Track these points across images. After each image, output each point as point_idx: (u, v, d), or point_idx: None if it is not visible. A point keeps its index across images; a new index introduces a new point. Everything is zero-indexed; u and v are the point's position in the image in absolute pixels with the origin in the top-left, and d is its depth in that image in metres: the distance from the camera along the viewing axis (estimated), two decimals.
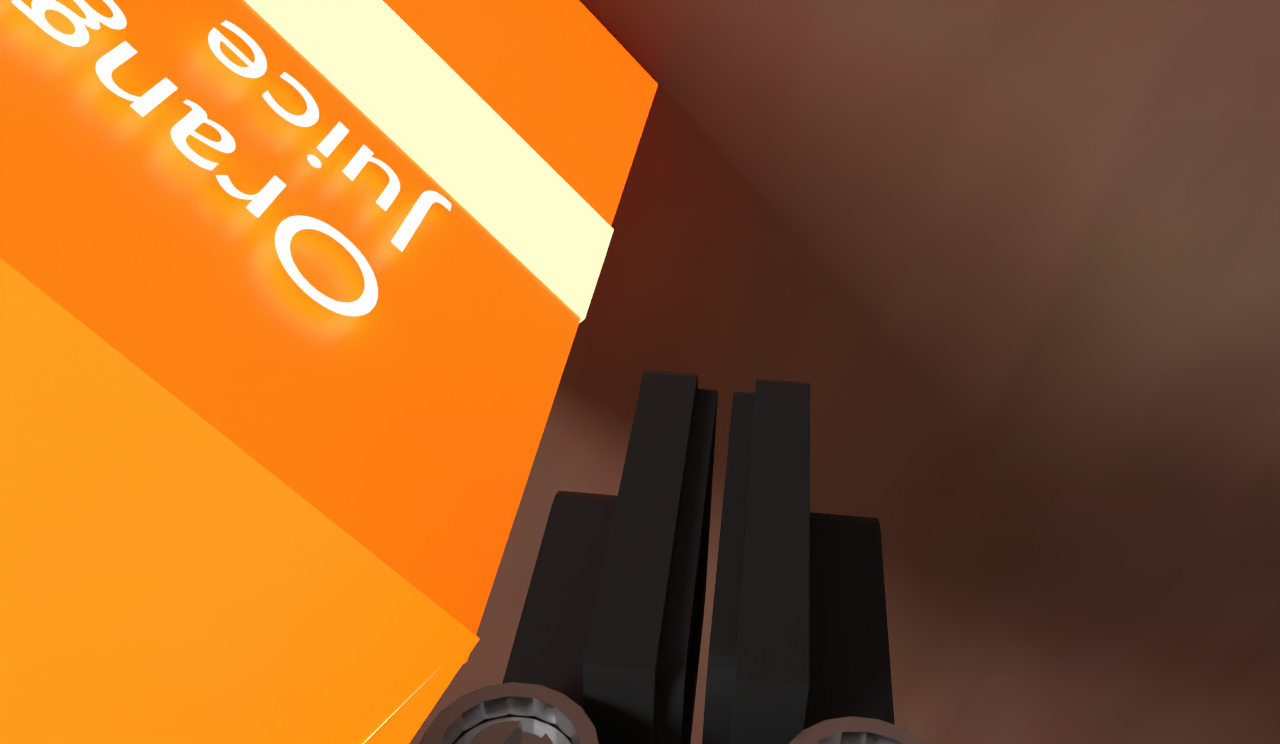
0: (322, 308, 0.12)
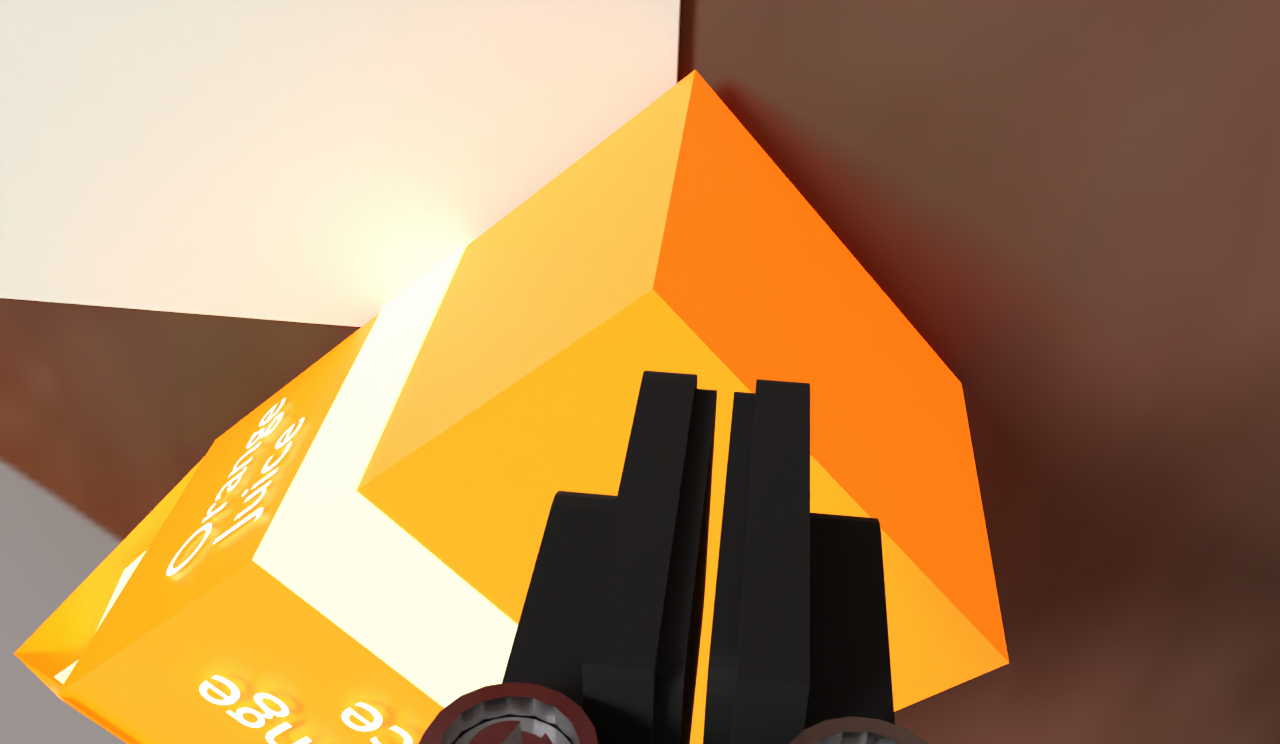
0: None
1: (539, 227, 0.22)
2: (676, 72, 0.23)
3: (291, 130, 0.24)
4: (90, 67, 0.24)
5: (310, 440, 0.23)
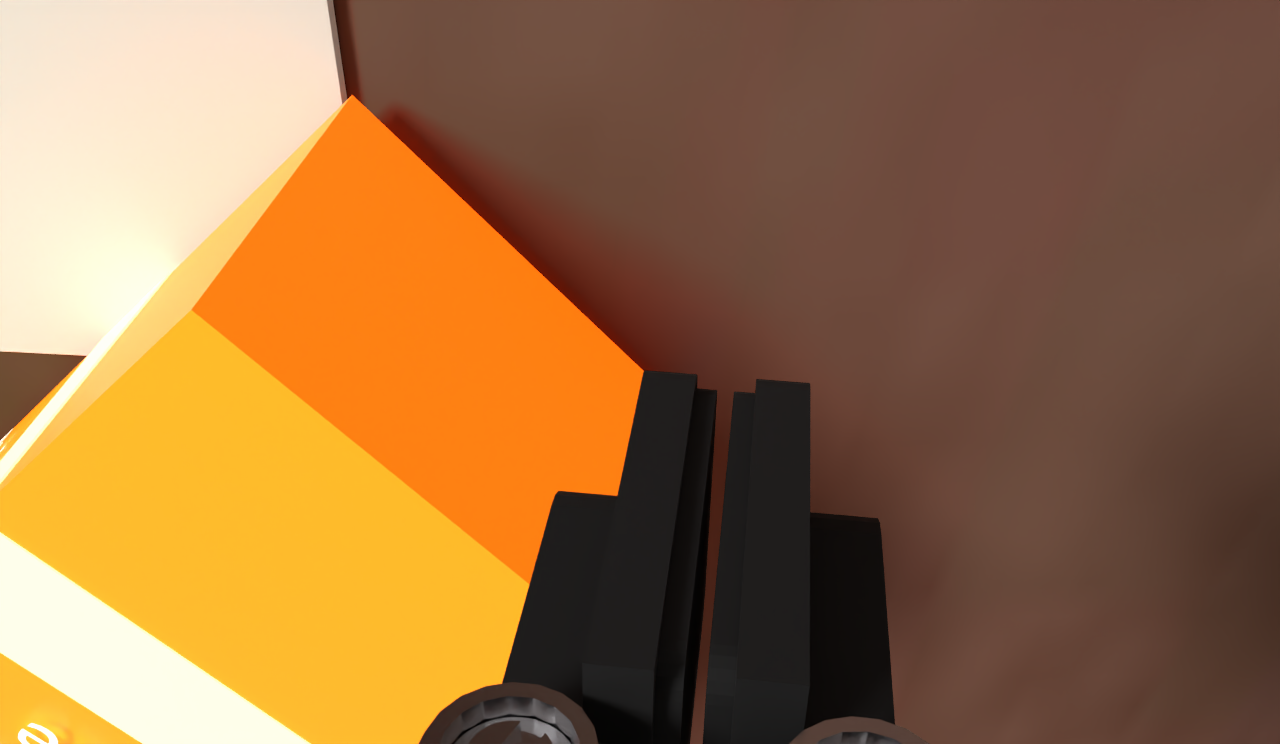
0: None
1: (202, 253, 0.22)
2: (341, 98, 0.23)
3: None
4: None
5: None
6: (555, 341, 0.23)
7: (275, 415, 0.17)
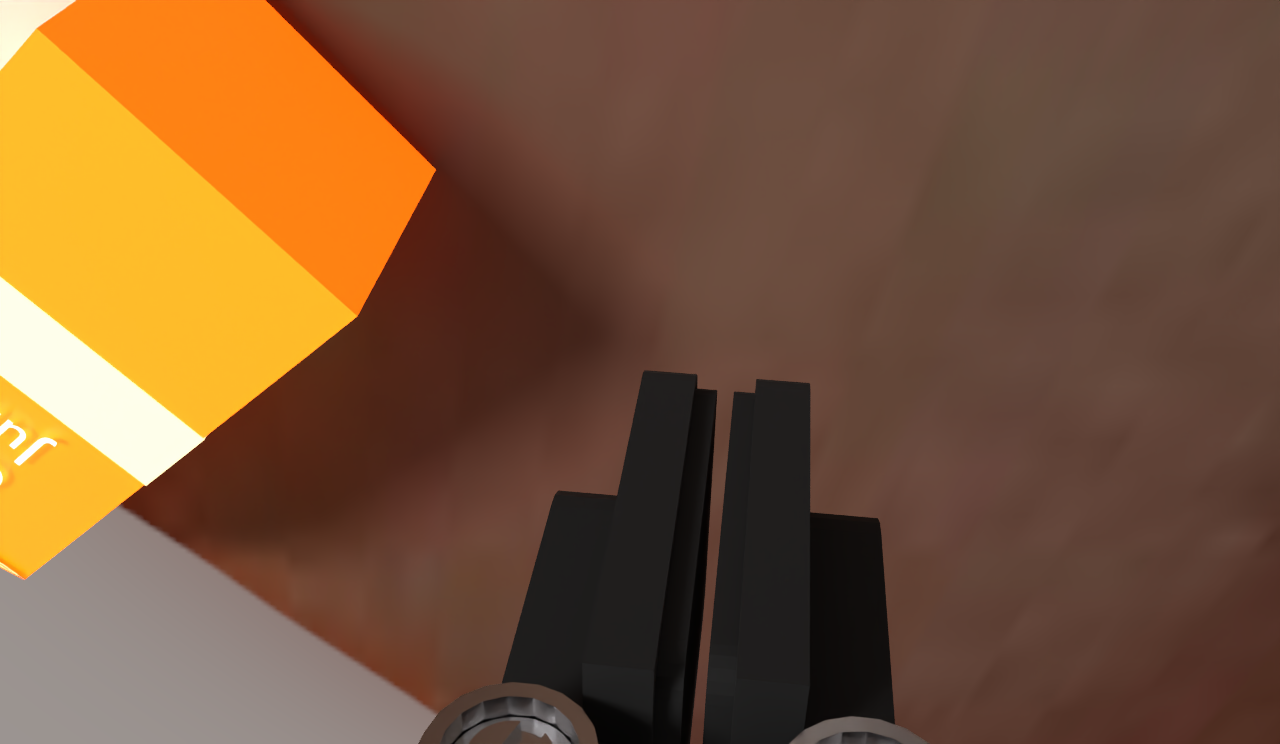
0: None
1: None
2: None
3: None
4: None
5: None
6: (338, 114, 0.32)
7: (97, 111, 0.26)
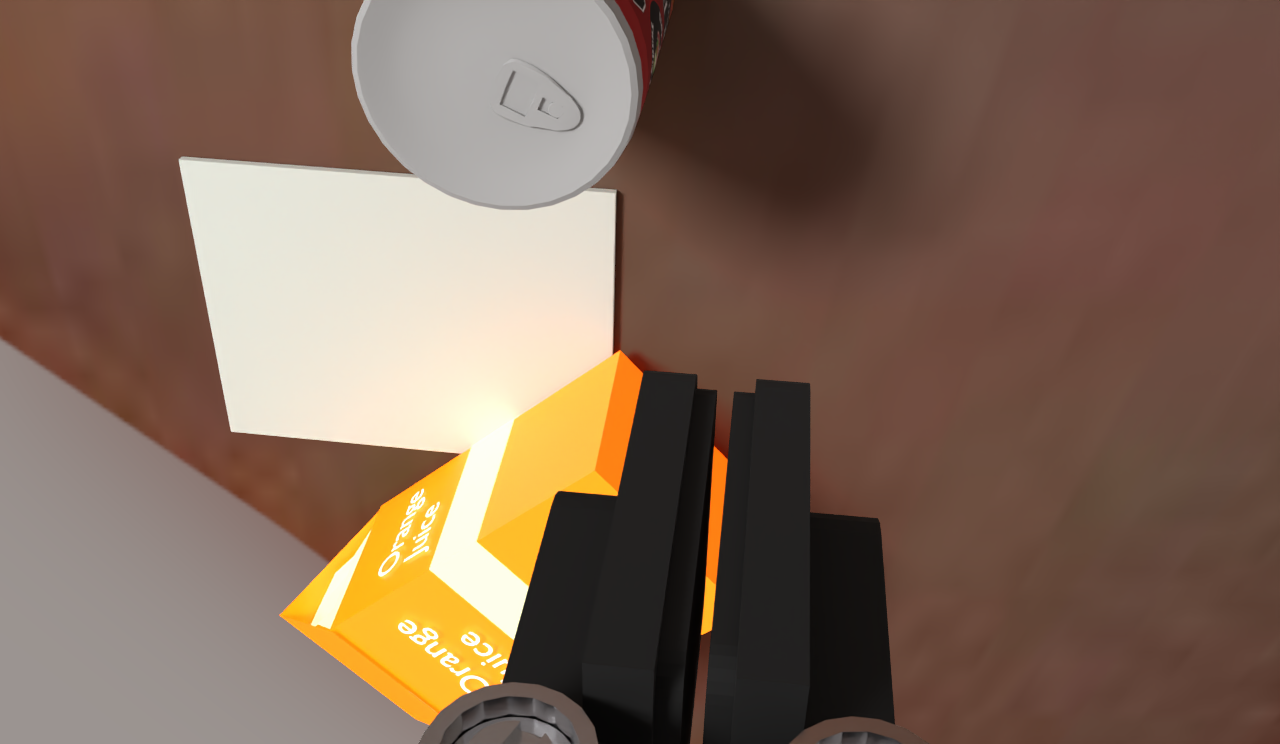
0: (473, 687, 0.51)
1: (550, 421, 0.49)
2: (612, 348, 0.50)
3: (433, 366, 0.51)
4: (339, 337, 0.51)
5: (444, 514, 0.50)
6: None
7: None
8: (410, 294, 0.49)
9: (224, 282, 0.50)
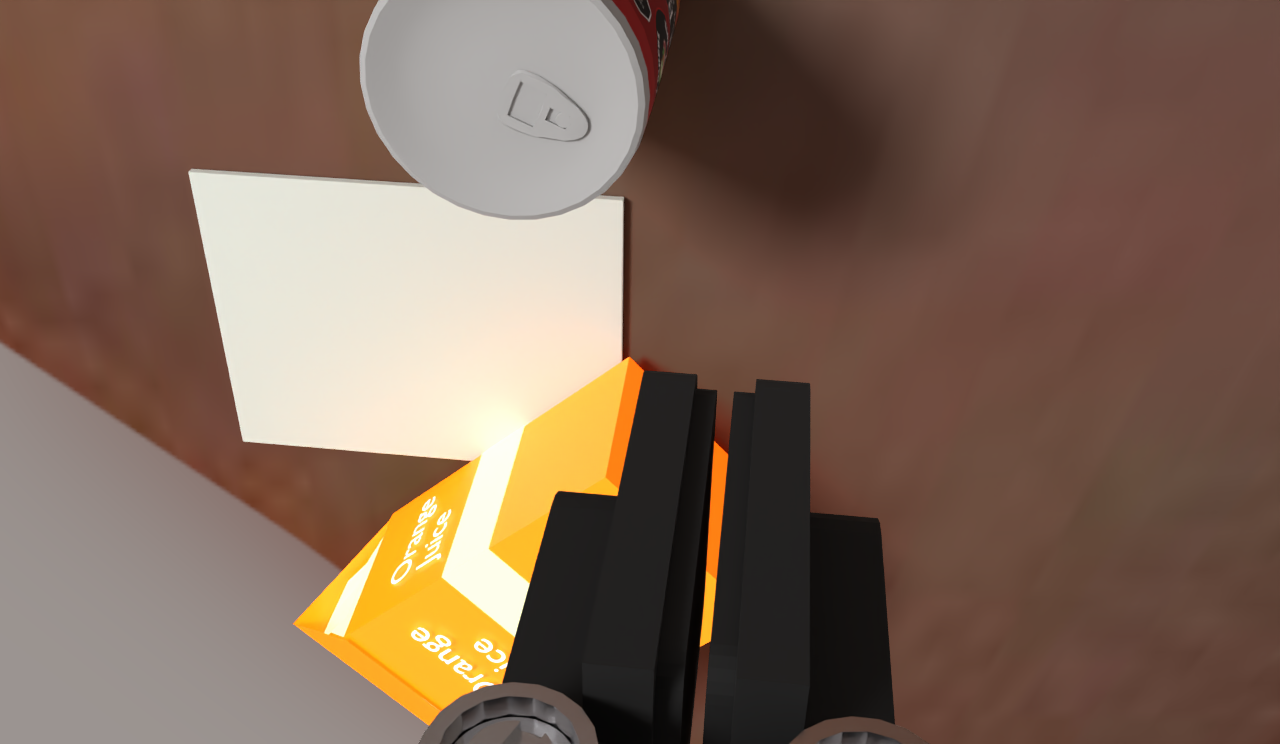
0: None
1: (560, 427, 0.49)
2: (621, 355, 0.50)
3: (442, 374, 0.51)
4: (350, 347, 0.51)
5: (456, 521, 0.50)
6: (716, 469, 0.50)
7: None
8: (420, 303, 0.50)
9: (235, 293, 0.50)
